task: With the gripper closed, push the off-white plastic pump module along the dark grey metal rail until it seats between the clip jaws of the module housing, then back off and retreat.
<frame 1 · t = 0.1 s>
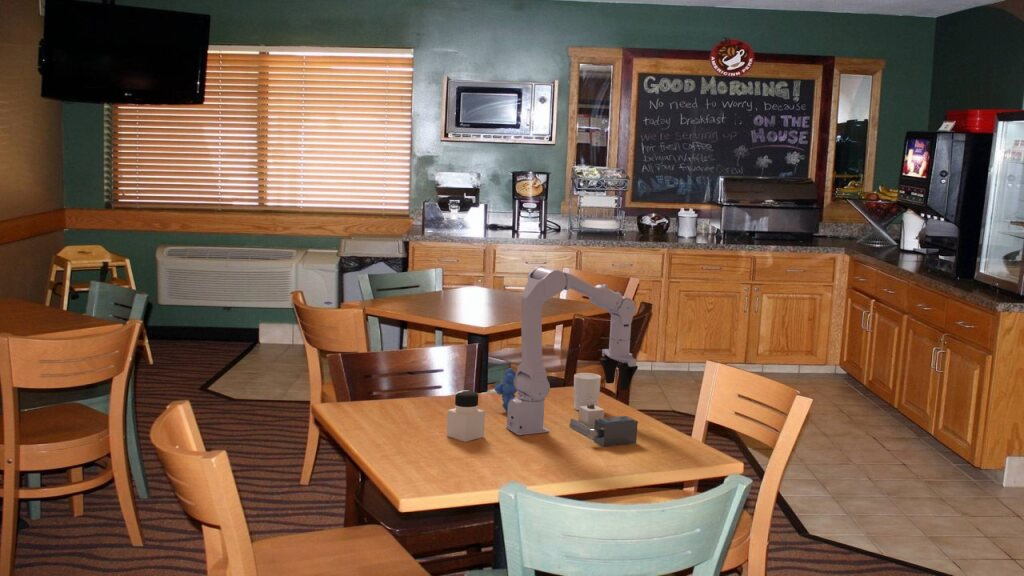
hand: (617, 386, 272), 10 cm above the table, tool pointing down, fingers open, 7 cm apart
white cup: (585, 409, 285), on the table
medicine bottle: (465, 437, 253), on the table
grapes: (505, 410, 281), on the table
module housing: (605, 437, 257), on the table
pump module: (591, 415, 263), point 4 cm above the table, slide at 7.0 cm
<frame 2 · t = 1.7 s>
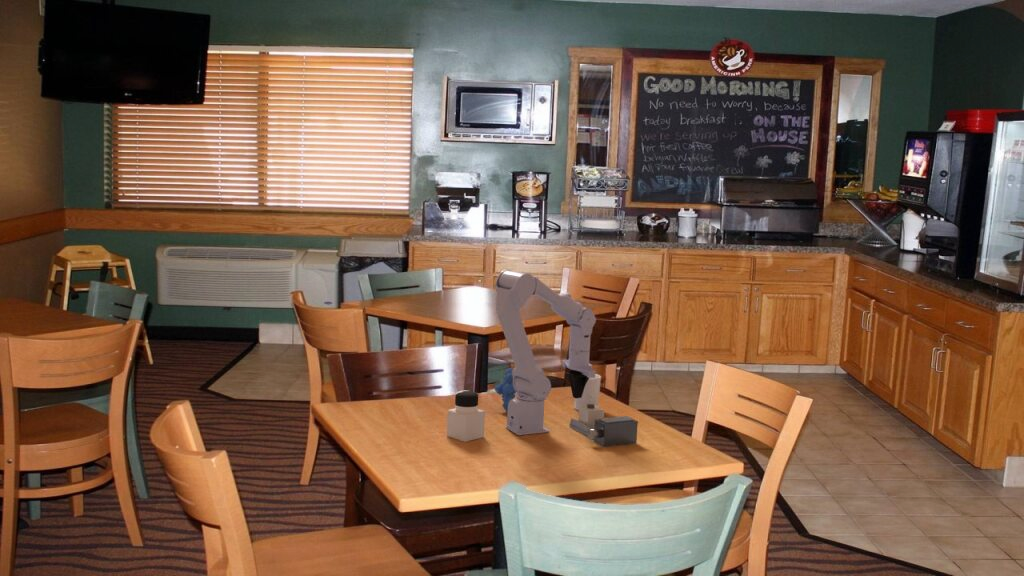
hand: (577, 397, 270), 7 cm above the table, tool pointing down, fingers closed
nothing on the table moved.
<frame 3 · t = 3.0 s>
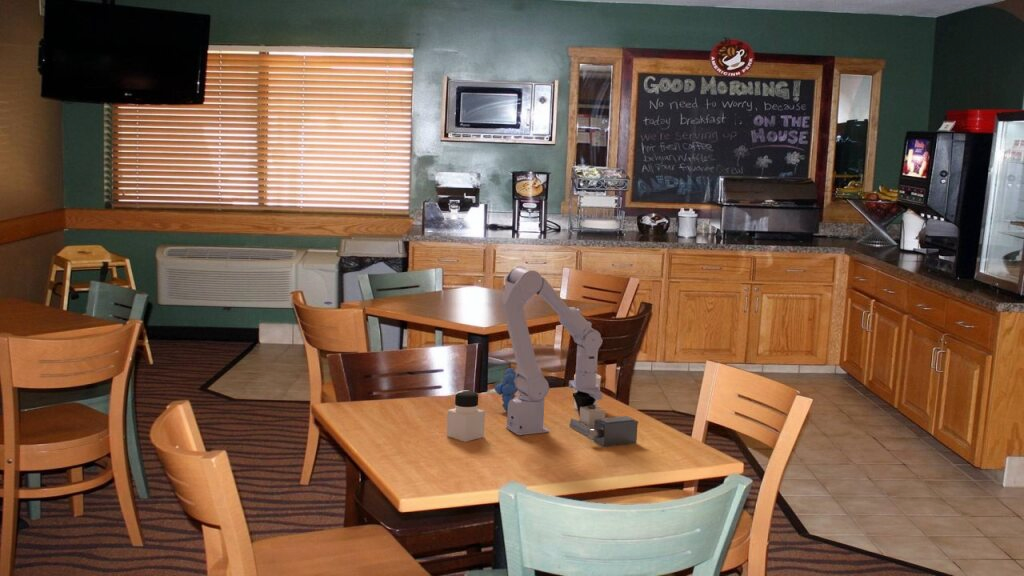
hand: (583, 418, 267), 2 cm above the table, tool pointing down, fingers closed
pump module: (592, 415, 263), point 4 cm above the table, slide at 6.5 cm, touching gripper
everything else where it was.
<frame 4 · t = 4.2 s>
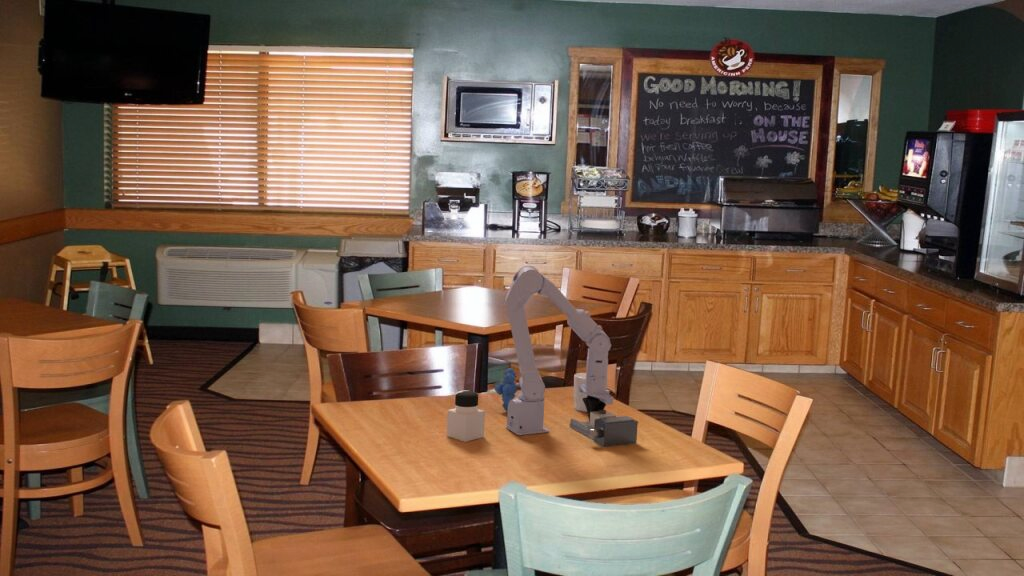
hand: (593, 424, 262), 2 cm above the table, tool pointing down, fingers closed
pump module: (602, 421, 258), point 4 cm above the table, slide at 1.1 cm, touching gripper
everything else where it was.
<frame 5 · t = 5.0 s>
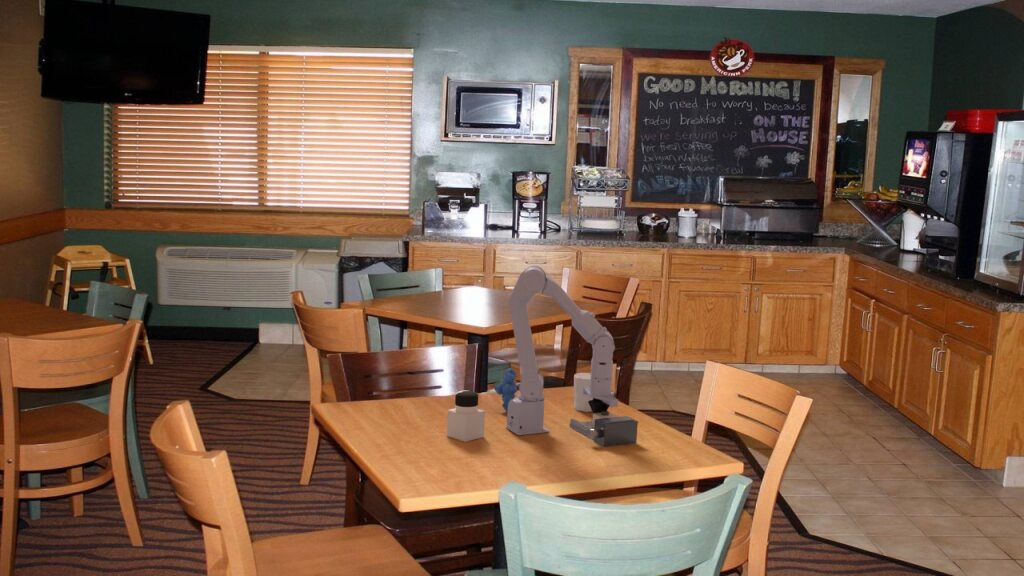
hand: (598, 426, 260), 2 cm above the table, tool pointing down, fingers closed, pressing on pump module
pump module: (605, 422, 257), point 4 cm above the table, slide at -0.3 cm, touching gripper
everything else where it was.
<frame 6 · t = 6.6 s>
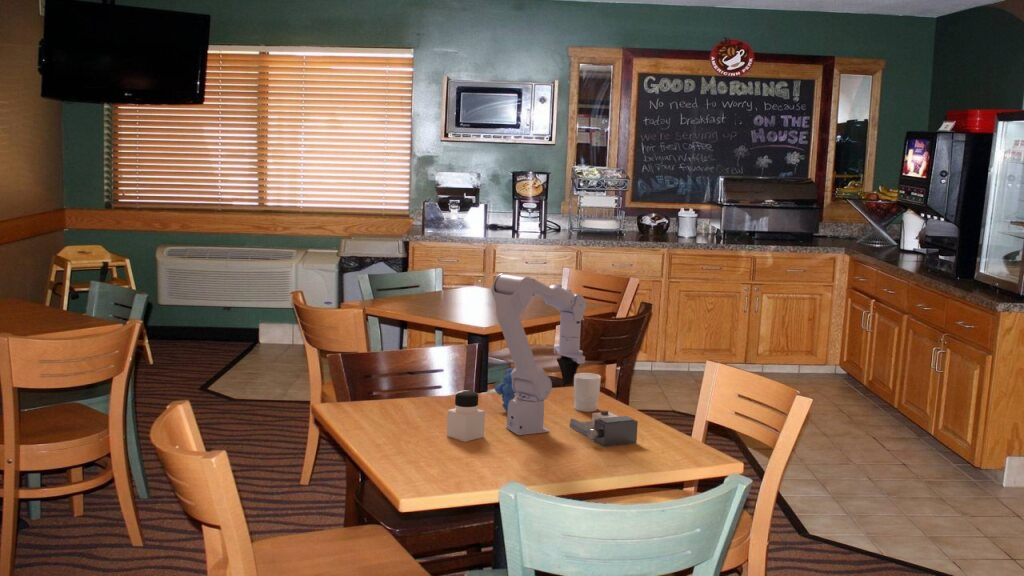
hand: (567, 383, 271), 10 cm above the table, tool pointing down, fingers closed
pump module: (604, 422, 257), point 4 cm above the table, slide at 0.0 cm
everything else where it was.
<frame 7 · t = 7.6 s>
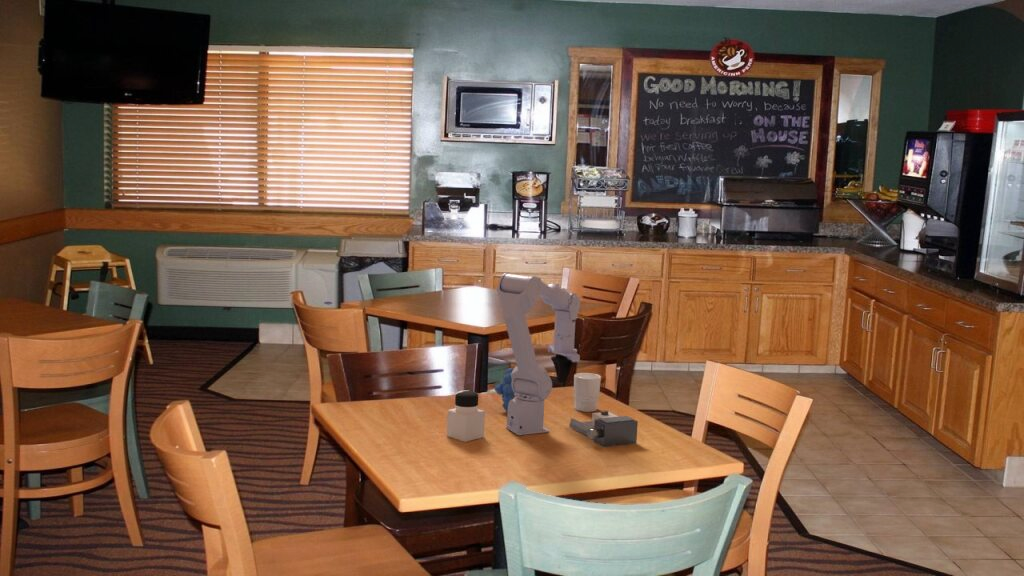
hand: (562, 381, 273), 10 cm above the table, tool pointing down, fingers closed
nothing on the table moved.
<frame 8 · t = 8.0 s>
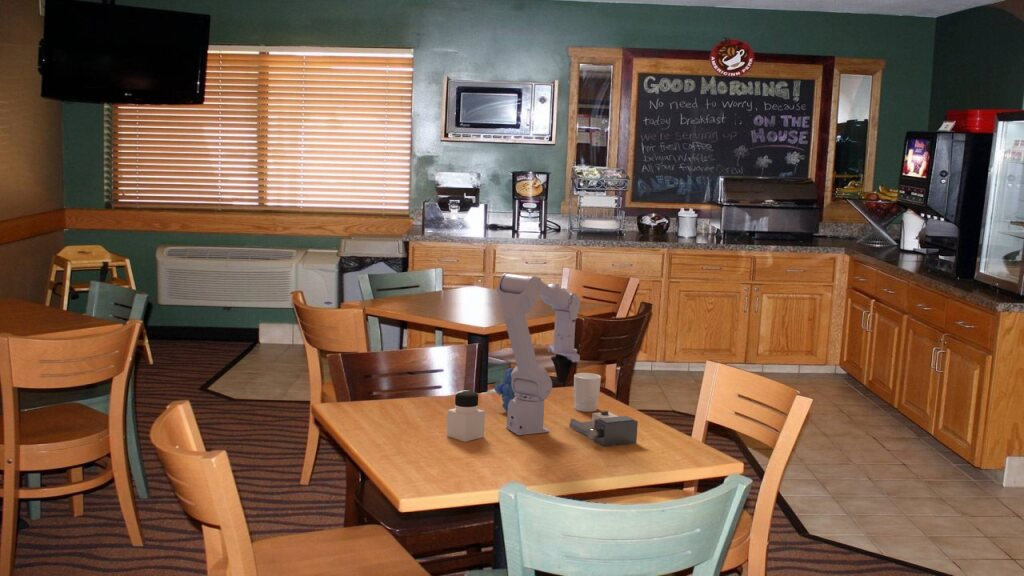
hand: (562, 381, 273), 10 cm above the table, tool pointing down, fingers closed
nothing on the table moved.
at the end: pump module slide at 0.0 cm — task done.
